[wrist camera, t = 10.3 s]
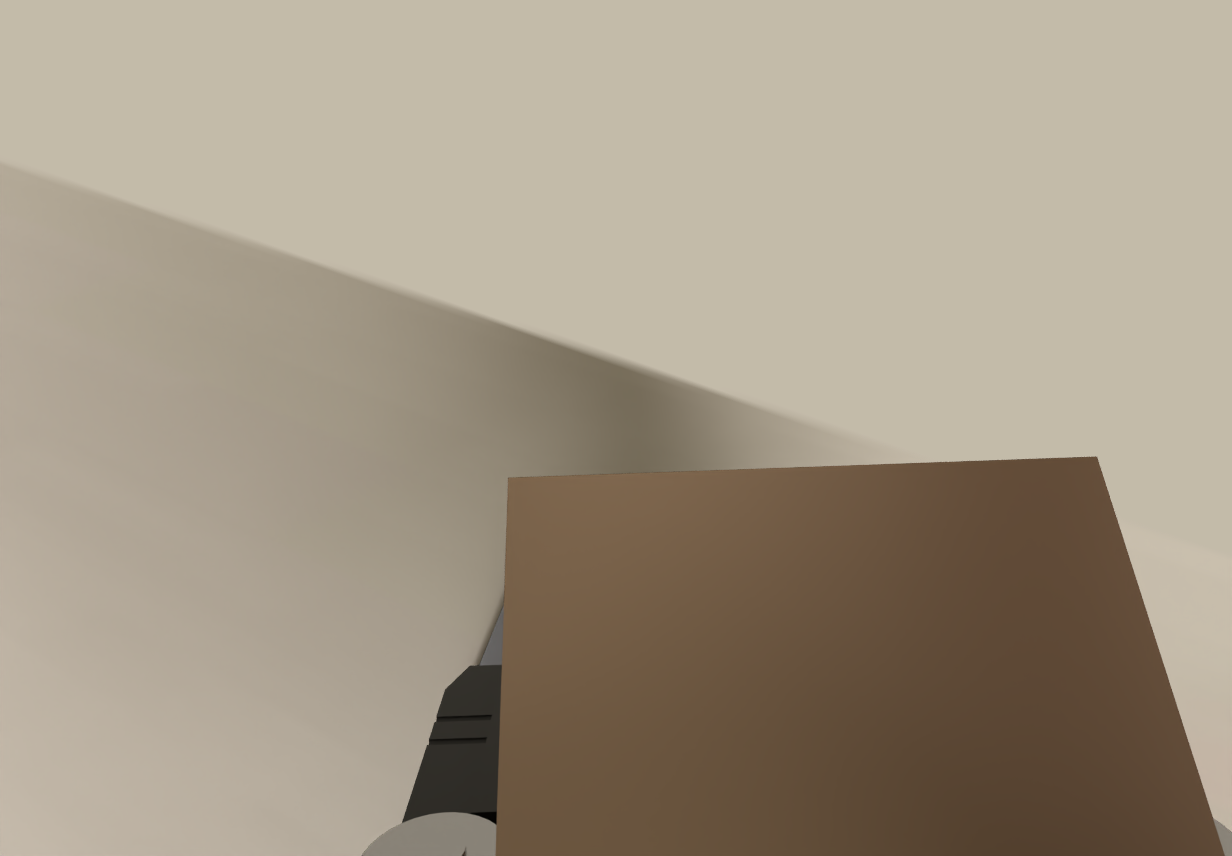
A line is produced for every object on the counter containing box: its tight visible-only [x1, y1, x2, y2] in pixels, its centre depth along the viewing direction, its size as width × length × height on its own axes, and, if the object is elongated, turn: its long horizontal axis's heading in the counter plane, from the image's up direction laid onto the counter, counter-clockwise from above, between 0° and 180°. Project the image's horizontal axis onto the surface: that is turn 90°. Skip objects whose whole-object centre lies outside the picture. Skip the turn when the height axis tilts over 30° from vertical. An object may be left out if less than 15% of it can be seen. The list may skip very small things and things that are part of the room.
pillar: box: [495, 457, 1225, 856], centre depth 10 cm, size 4×4×10 cm
